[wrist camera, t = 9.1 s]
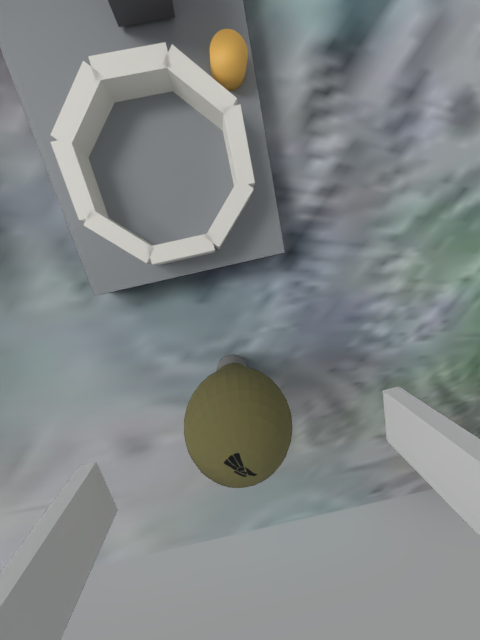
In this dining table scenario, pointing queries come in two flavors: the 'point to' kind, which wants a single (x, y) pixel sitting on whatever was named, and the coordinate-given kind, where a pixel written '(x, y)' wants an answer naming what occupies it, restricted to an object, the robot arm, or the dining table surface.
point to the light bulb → (237, 425)
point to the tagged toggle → (141, 11)
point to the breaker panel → (147, 135)
